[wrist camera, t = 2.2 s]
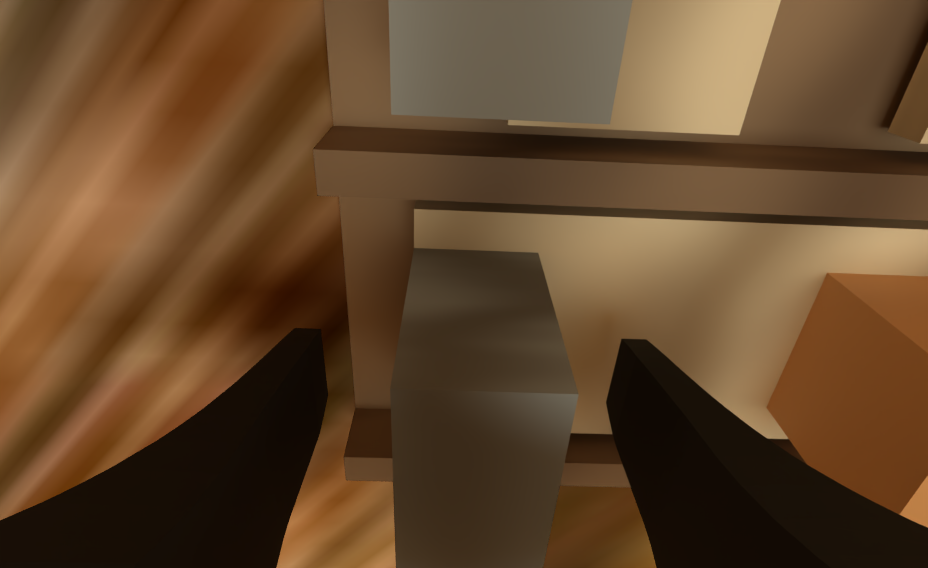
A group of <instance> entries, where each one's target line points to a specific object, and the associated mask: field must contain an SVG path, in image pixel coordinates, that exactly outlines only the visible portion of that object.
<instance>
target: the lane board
mask: <svg viewBox="0 0 928 568" xmlns="http://www.w3.org/2000/svg"><path fill="white" fill-rule="evenodd" d="M324 13H325V26H326V38H327V51H328V64H329V77H330V89H331V102H332V115H333V126H332V128H331V129H330V130H329V131H328V132H327V133H326V135H325V136H324V137H323V138H322V139H321V140H320V142H319V143H318V144H317V145H316V146H315V147H314V149H313V156H314V166H315V176H316V186H317V196H334V197H339V204H340V217H341V230H342V242H343V255H344V268H345V281H346V293H347V306H348V319H349V332H350V344H351V357H352V370H353V383H354V395H355V412H354V417H353V421H352V425H351V429H350V433H349V437H348V441H347V445H346V449H345V454H344V466H345V476H346V480H352V481H392V482H393V461H392V430H391V400H390V386H391V381H392V375H393V369H394V363H395V357H396V351H397V345H398V339H399V334H400V328H401V322H402V316H403V310H404V304H405V298H406V292H407V286H408V281H409V275H410V269H411V263H412V257H413V251H414V206H415V201H416V200H433V201H457V202H482V203H506V204H531V205H555V206H580V207H604V208H629V209H653V210H678V211H702V212H727V213H751V214H776V215H800V216H825V217H849V218H874V219H898V220H923V221H928V0H324ZM769 440H770V441H772V442H773V443H775V444H776V445H778V446H779V447H781V448H782V449H784V450H785V451H787V452H788V453H790V454H791V455H793V456H794V457H796V458H797V459H799V460H801V461H802V462H804V463H805V464H806V462H805V461H804V460H803V458H802V457H801V455H800V454H799V453H798V451H797V450H796V448H795V447H794V446H793V444H792V443H791V441H790V440H789V439H769ZM560 486H591V487H630V484H629V481H628V478H627V476H626V473H625V470H624V467H623V465H622V462H621V459H620V456H619V453H618V450H617V448H616V445H615V442H614V438H613V434H587V433H571V434H570V439H569V444H568V449H567V454H566V458H565V463H564V468H563V473H562V478H561V483H560ZM630 488H631V487H630Z"/></svg>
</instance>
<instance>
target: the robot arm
mask: <svg viewBox="0 0 928 568" xmlns="http://www.w3.org/2000/svg"><path fill="white" fill-rule="evenodd" d="M327 397H328V390H327V381H326V372H325V364H324V355H323V346H322V337H321V329H303V328H295V329H293V330H292V331H291V332H290V333H289V334H288V335H287V336H286V337H284V338H283V339H282V340H281V341H280V342H279V343H278V344H277V345H276V346H275V347H274V348H273V349H272V350H271V351H270V352H269V353H267V354H266V355H265V356H264V357H263V358H262V359H261V360H260V361H259V362H258V363H257V364H256V365H254V366H253V367H252V368H251V369H250V370H249V371H248V372H247V373H245V374H244V375H243V376H242V377H241V378H240V379H239V380H238V381H237V382H235V383H234V384H233V385H232V386H231V387H229V388H228V389H227V390H226V391H224V392H223V393H222V394H221V395H220V396H218V397H217V398H216V399H215V400H213V401H212V402H211V403H210V404H208V405H207V406H206V407H205V408H203V409H202V410H201V411H199V412H198V413H197V414H195V415H194V416H192V417H191V418H190V419H188V420H187V421H186V422H184V423H183V424H181V425H180V426H178V427H177V428H175V429H174V430H172V431H171V432H169V433H168V434H166V435H165V436H163V437H162V438H160V439H159V440H157V441H155V442H154V443H152V444H150V445H149V446H147V447H145V448H144V449H142V450H140V451H139V452H137V453H135V454H133V455H132V456H130V457H128V458H127V459H125V460H123V461H122V462H120V463H118V464H117V465H115V466H113V467H111V468H109V469H108V470H106V471H104V472H102V473H100V474H98V475H96V476H94V477H93V478H91V479H89V480H87V481H85V482H83V483H81V484H79V485H77V486H75V487H73V488H71V489H69V490H67V491H65V492H63V493H61V494H59V495H57V496H55V497H52V498H50V499H48V500H46V501H44V502H42V503H40V504H37V505H35V506H33V507H30V508H28V509H26V510H23V511H21V512H19V513H17V514H14V515H12V516H10V517H7V518H5V519H3V520H0V568H276V567H277V563H278V559H279V555H280V551H281V547H282V542H283V538H284V535H285V532H286V529H287V525H288V522H289V519H290V516H291V513H292V510H293V507H294V505H295V502H296V499H297V496H298V493H299V491H300V488H301V485H302V482H303V479H304V477H305V474H306V471H307V468H308V465H309V463H310V460H311V457H312V454H313V451H314V448H315V445H316V443H317V440H318V437H319V434H320V430H321V425H322V421H323V417H324V412H325V407H326V402H327ZM606 406H607V411H608V416H609V421H610V425H611V430H612V434H613V438H614V442H615V445H616V448H617V450H618V453H619V456H620V459H621V462H622V465H623V467H624V470H625V473H626V476H627V478H628V481H629V484H630V487H631V489H632V492H633V495H634V497H635V500H636V503H637V506H638V508H639V511H640V514H641V517H642V519H643V522H644V525H645V528H646V531H647V534H648V537H649V540H650V544H651V547H652V551H653V555H654V559H655V563H656V567H657V568H928V528H927V527H925V526H923V525H921V524H918V523H916V522H914V521H912V520H910V519H907V518H905V517H903V516H901V515H899V514H897V513H895V512H893V511H891V510H889V509H887V508H885V507H883V506H881V505H879V504H877V503H875V502H873V501H871V500H869V499H867V498H865V497H864V496H862V495H860V494H858V493H856V492H854V491H852V490H851V489H849V488H847V487H845V486H843V485H841V484H840V483H838V482H836V481H834V480H833V479H831V478H829V477H828V476H826V475H824V474H822V473H821V472H819V471H817V470H816V469H814V468H812V467H810V466H809V465H807V464H805V463H804V462H802V461H801V460H799V459H797V458H796V457H794V456H793V455H791V454H790V453H788V452H787V451H785V450H784V449H782V448H781V447H779V446H778V445H776V444H775V443H773V442H772V441H770V440H769V439H767V438H766V437H764V436H763V435H761V434H760V433H759V432H757V431H756V430H754V429H753V428H752V427H750V426H749V425H748V424H746V423H745V422H744V421H742V420H741V419H740V418H739V417H737V416H736V415H735V414H733V413H732V412H731V411H730V410H728V409H727V408H726V407H724V406H723V405H722V404H721V403H720V402H718V401H717V400H716V399H715V398H713V397H712V396H711V395H710V394H709V393H707V392H706V391H705V390H704V389H703V388H702V387H700V386H699V385H698V384H697V383H696V382H695V381H693V380H692V379H691V378H690V377H689V376H688V375H687V374H686V373H684V372H683V371H682V370H681V369H680V368H679V367H678V366H677V365H675V364H674V363H673V362H672V361H671V360H670V359H669V358H668V357H666V356H665V355H664V354H663V353H662V352H661V351H660V350H659V349H657V348H656V347H655V346H654V345H653V344H652V343H650V342H649V341H648V340H647V339H621V342H620V346H619V351H618V355H617V359H616V363H615V367H614V371H613V375H612V379H611V383H610V387H609V391H608V396H607V400H606Z"/></svg>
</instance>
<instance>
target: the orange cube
mask: <svg viewBox="0 0 928 568" xmlns="http://www.w3.org/2000/svg"><path fill="white" fill-rule="evenodd" d="M766 408H767V409H768V411H769V412H770V413H771V415H772V416H773V418H774V419H775V420H776V422H777V423H778V425H779V426H780V427H781V429H782V430H783V432H784V433H785V434H786V436H787V437H788V439H789V440H790V441H791V443H792V444H793V446H794V447H795V448H796V450H797V451H798V453H799V454H800V455H801V457H802V458H803V460H804V461H805V462H806V464H807V465H809V466H810V467H812V468H814V469H816V470H817V471H819V472H821V473H822V474H824V475H826V476H828V477H829V478H831V479H833V480H834V481H836V482H838V483H840V484H841V485H843V486H845V487H847V488H849V489H851V490H852V491H854V492H856V493H858V494H860V495H862V496H864V497H865V498H867V499H869V500H871V501H873V502H875V503H877V504H879V505H881V506H883V507H885V508H887V509H889V510H891V511H893V512H895V513H897V514H899V515H901V516H903V517H905V518H907V519H910V520H912V521H914V522H916V523H918V524H921V525H923V526H925V527H927V528H928V276H901V275H875V274H848V273H827V274H826V277H825V279H824V281H823V283H822V286H821V288H820V290H819V292H818V294H817V297H816V299H815V301H814V303H813V305H812V308H811V310H810V312H809V314H808V316H807V319H806V321H805V323H804V325H803V328H802V330H801V332H800V334H799V336H798V339H797V341H796V343H795V345H794V347H793V350H792V352H791V354H790V356H789V359H788V361H787V363H786V365H785V367H784V370H783V372H782V374H781V376H780V378H779V381H778V383H777V385H776V387H775V390H774V392H773V394H772V396H771V398H770V401H769V403H768V405H767V407H766Z"/></svg>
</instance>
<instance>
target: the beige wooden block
mask: <svg viewBox="0 0 928 568" xmlns="http://www.w3.org/2000/svg"><path fill="white" fill-rule="evenodd" d="M827 273H848V274H875V275H901V276H928V221H923V220H898V219H874V218H849V217H825V216H800V215H776V214H751V213H727V212H702V211H678V210H653V209H629V208H604V207H580V206H555V205H531V204H506V203H482V202H457V201H433V200H416V201H415V206H414V251H413V257H412V263H411V269H410V275H409V281H408V286H407V292H406V298H405V304H404V310H403V316H402V322H401V328H400V334H399V339H398V345H397V351H396V357H395V363H394V369H393V375H392V381H391V386H390V400H391V430H392V461H393V491H394V522H395V552H396V568H543V565H544V560H545V555H546V551H547V546H548V541H549V536H550V531H551V526H552V521H553V517H554V512H555V507H556V502H557V497H558V492H559V487H560V483H561V478H562V473H563V468H564V463H565V458H566V454H567V449H568V444H569V439H570V434H571V433H587V434H612V430H611V425H610V421H609V416H608V411H607V406H606V400H607V396H608V391H609V387H610V383H611V379H612V375H613V371H614V367H615V363H616V359H617V355H618V351H619V346H620V342H621V339H647V340H648V341H649V342H650V343H652V344H653V345H654V346H655V347H656V348H657V349H659V350H660V351H661V352H662V353H663V354H664V355H665V356H666V357H668V358H669V359H670V360H671V361H672V362H673V363H674V364H675V365H677V366H678V367H679V368H680V369H681V370H682V371H683V372H684V373H686V374H687V375H688V376H689V377H690V378H691V379H692V380H693V381H695V382H696V383H697V384H698V385H699V386H700V387H702V388H703V389H704V390H705V391H706V392H707V393H709V394H710V395H711V396H712V397H713V398H715V399H716V400H717V401H718V402H720V403H721V404H722V405H723V406H724V407H726V408H727V409H728V410H730V411H731V412H732V413H733V414H735V415H736V416H737V417H739V418H740V419H741V420H742V421H744V422H745V423H746V424H748V425H749V426H750V427H752V428H753V429H754V430H756V431H757V432H759V433H760V434H761V435H763V436H764V437H766V438H767V439H788V437H787V436H786V434H785V433H784V432H783V430H782V429H781V427H780V426H779V425H778V423H777V422H776V420H775V419H774V418H773V416H772V415H771V413H770V412H769V411H768V409H767V408H766V407H767V405H768V403H769V401H770V398H771V396H772V394H773V392H774V390H775V387H776V385H777V383H778V381H779V378H780V376H781V374H782V372H783V370H784V367H785V365H786V363H787V361H788V359H789V356H790V354H791V352H792V350H793V347H794V345H795V343H796V341H797V339H798V336H799V334H800V332H801V330H802V328H803V325H804V323H805V321H806V319H807V316H808V314H809V312H810V310H811V308H812V305H813V303H814V301H815V299H816V297H817V294H818V292H819V290H820V288H821V286H822V283H823V281H824V279H825V277H826V274H827Z"/></svg>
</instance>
